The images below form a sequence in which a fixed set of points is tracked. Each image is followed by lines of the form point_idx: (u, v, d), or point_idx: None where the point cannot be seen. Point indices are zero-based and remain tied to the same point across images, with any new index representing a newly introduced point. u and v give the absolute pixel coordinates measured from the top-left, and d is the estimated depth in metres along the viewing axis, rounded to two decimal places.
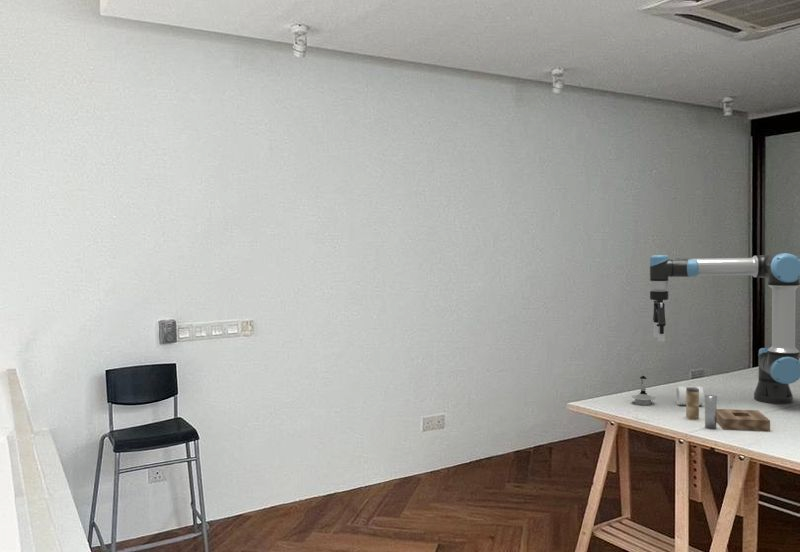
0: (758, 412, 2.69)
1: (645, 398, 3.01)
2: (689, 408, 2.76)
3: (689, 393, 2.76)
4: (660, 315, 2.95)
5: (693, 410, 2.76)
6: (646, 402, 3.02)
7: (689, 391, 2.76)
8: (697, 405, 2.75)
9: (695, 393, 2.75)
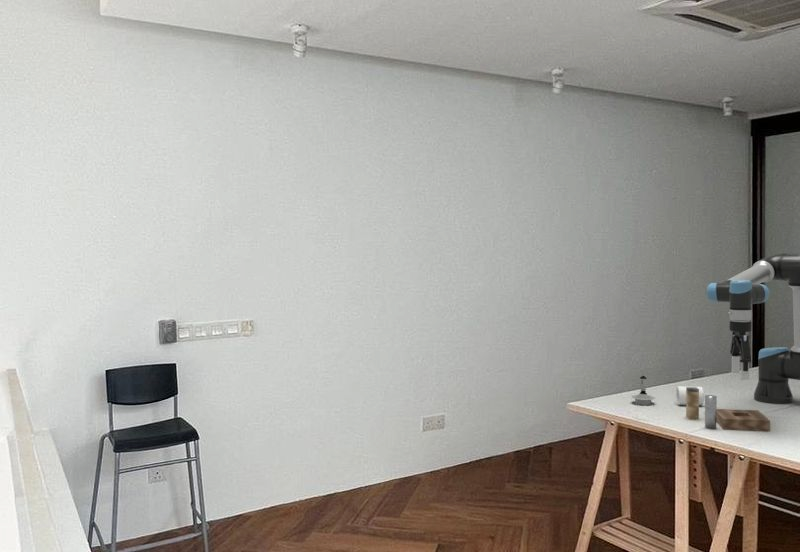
0: (758, 412, 2.69)
1: (645, 398, 3.01)
2: (689, 408, 2.76)
3: (689, 393, 2.76)
4: (744, 350, 2.57)
5: (693, 410, 2.76)
6: (646, 402, 3.02)
7: (689, 391, 2.76)
8: (697, 405, 2.75)
9: (695, 393, 2.75)
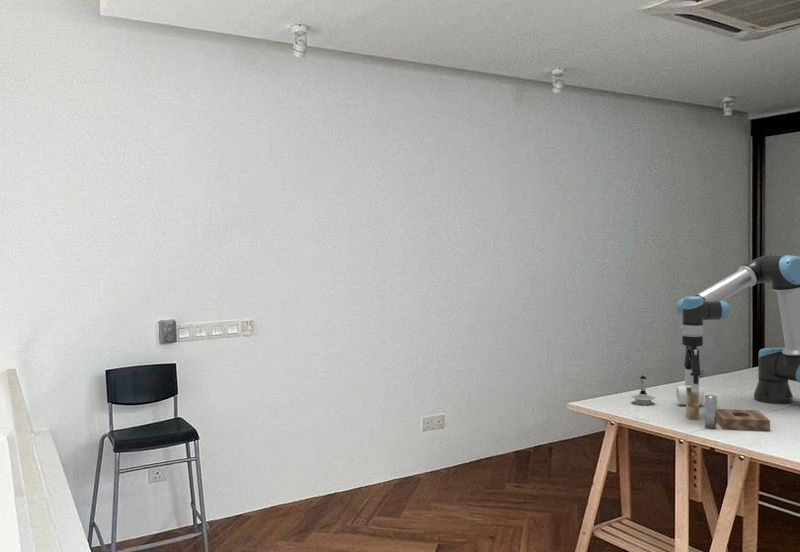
0: (758, 412, 2.69)
1: (645, 398, 3.01)
2: (689, 408, 2.76)
3: (689, 393, 2.76)
4: (694, 363, 2.69)
5: (693, 410, 2.76)
6: (646, 402, 3.02)
7: (689, 391, 2.76)
8: (697, 405, 2.75)
9: (695, 393, 2.75)
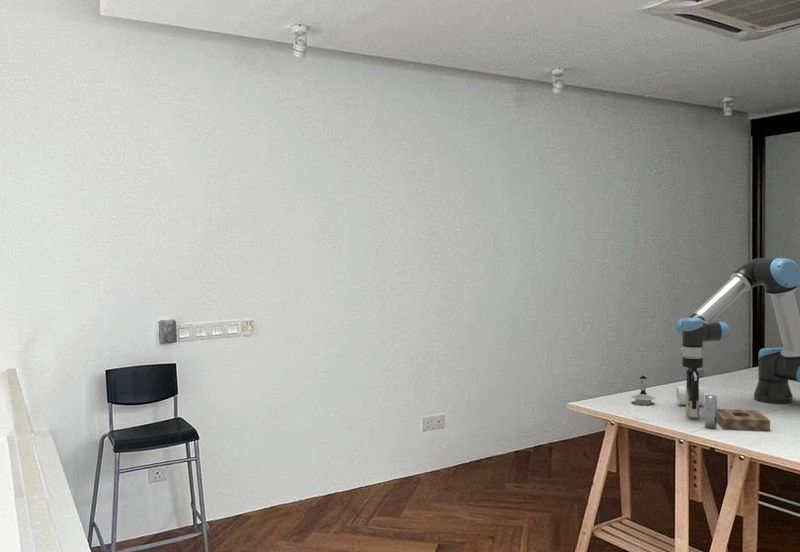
0: (758, 412, 2.69)
1: (645, 398, 3.01)
2: (689, 408, 2.76)
3: (689, 393, 2.76)
4: (693, 390, 2.72)
5: None
6: (646, 402, 3.02)
7: (689, 391, 2.76)
8: (697, 405, 2.75)
9: None
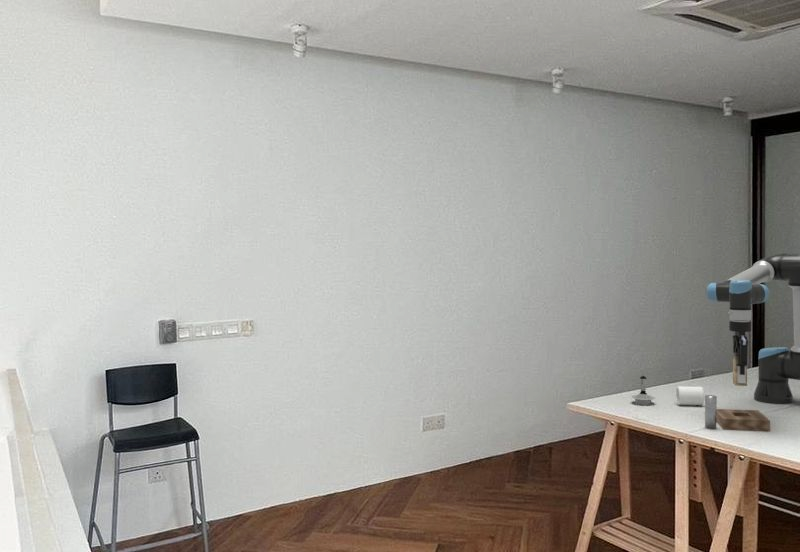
0: (758, 412, 2.69)
1: (645, 398, 3.01)
2: None
3: (737, 358, 2.64)
4: (742, 354, 2.60)
5: None
6: (646, 402, 3.02)
7: (737, 356, 2.64)
8: None
9: None
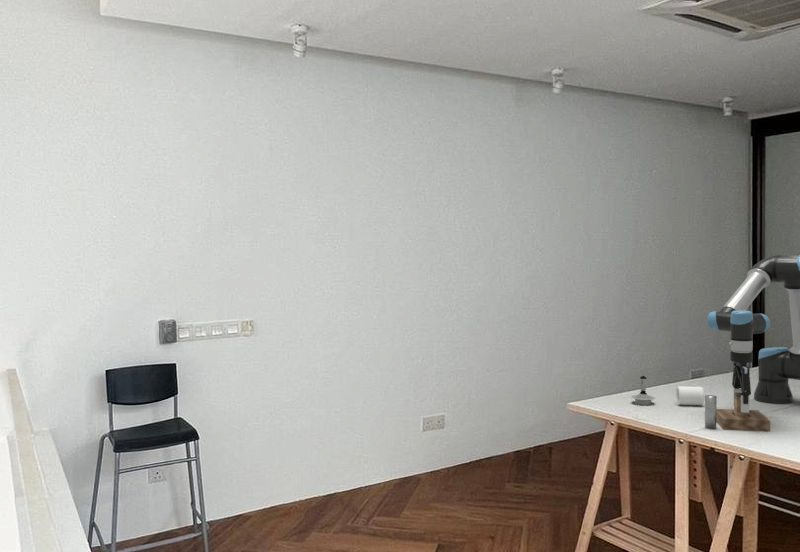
0: (758, 412, 2.69)
1: (645, 398, 3.01)
2: (738, 414, 2.65)
3: (738, 399, 2.64)
4: (744, 383, 2.58)
5: None
6: (646, 402, 3.02)
7: (738, 397, 2.64)
8: None
9: None
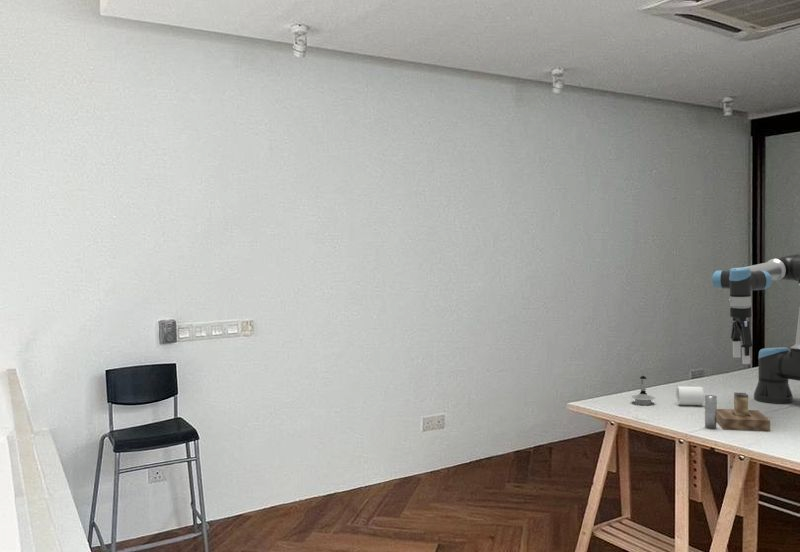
0: (758, 412, 2.69)
1: (645, 398, 3.01)
2: (738, 414, 2.65)
3: (738, 399, 2.64)
4: (745, 335, 2.66)
5: None
6: (646, 402, 3.02)
7: (738, 397, 2.64)
8: (746, 411, 2.64)
9: (744, 398, 2.64)
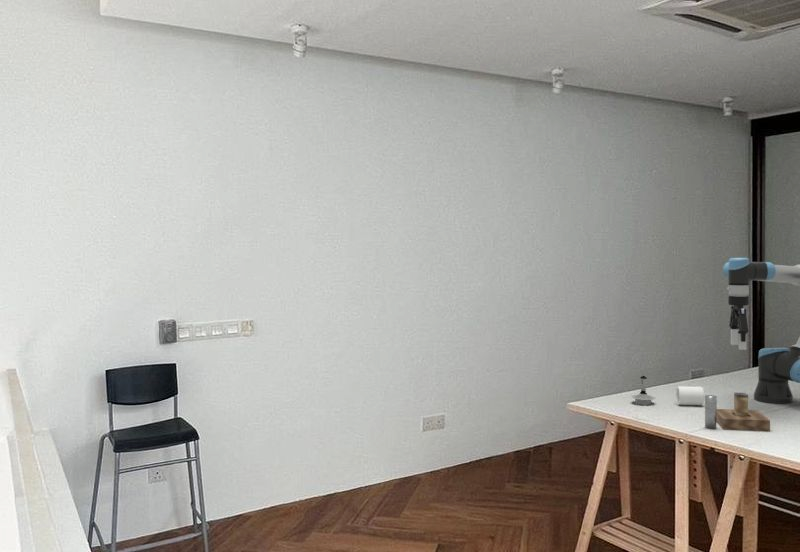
0: (758, 412, 2.69)
1: (645, 398, 3.01)
2: (738, 414, 2.65)
3: (738, 399, 2.64)
4: (742, 322, 2.77)
5: None
6: (646, 402, 3.02)
7: (738, 397, 2.64)
8: (746, 411, 2.64)
9: (744, 398, 2.64)
